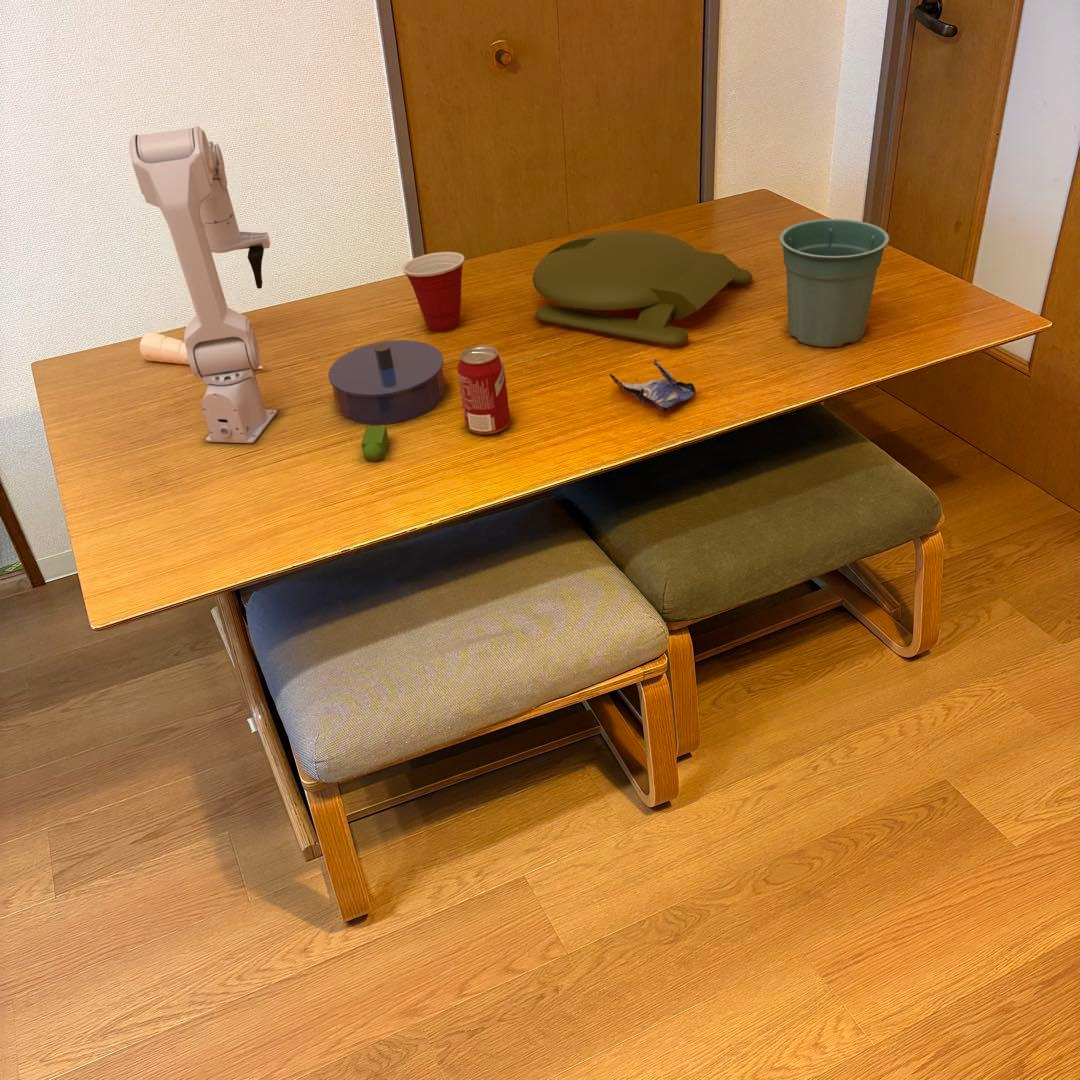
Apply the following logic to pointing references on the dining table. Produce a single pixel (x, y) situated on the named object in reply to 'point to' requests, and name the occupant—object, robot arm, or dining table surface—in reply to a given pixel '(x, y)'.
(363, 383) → the pan lid
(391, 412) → the pan
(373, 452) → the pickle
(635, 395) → the snack package
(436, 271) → the plastic cup
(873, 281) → the flower pot
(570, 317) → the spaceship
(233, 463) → the dining table surface
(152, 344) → the unicorn horn
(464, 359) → the soda can
